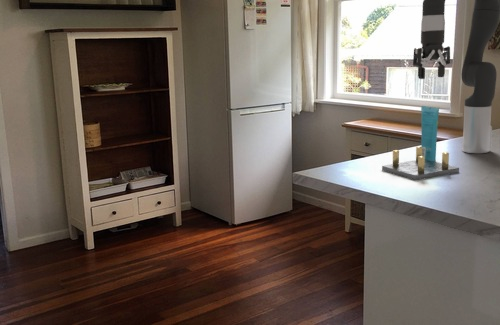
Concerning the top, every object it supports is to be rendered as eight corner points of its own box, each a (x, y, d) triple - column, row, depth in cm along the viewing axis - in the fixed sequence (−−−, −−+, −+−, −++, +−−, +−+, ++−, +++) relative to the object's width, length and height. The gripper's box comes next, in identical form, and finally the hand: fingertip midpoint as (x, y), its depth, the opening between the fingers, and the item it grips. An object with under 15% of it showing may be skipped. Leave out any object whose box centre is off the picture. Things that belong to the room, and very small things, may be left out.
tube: (441, 161, 189) (443, 106, 185) (433, 163, 186) (435, 108, 182) (422, 158, 195) (424, 105, 191) (415, 160, 192) (416, 106, 188)
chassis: (423, 163, 187) (424, 144, 186) (458, 172, 173) (459, 152, 172) (382, 170, 180) (382, 151, 179) (415, 180, 166) (416, 159, 164)
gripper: (440, 29, 187) (438, 76, 191) (408, 30, 181) (407, 79, 185) (457, 28, 180) (455, 77, 184) (424, 29, 175) (422, 80, 178)
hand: (431, 78), depth 184 cm, fingers open, 8 cm apart
